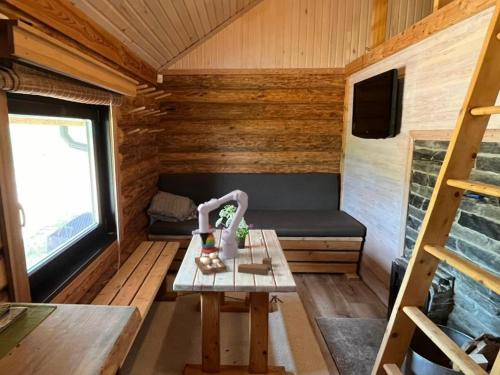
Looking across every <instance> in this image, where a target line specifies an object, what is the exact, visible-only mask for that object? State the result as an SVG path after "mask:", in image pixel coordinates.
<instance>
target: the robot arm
mask: <svg viewBox="0 0 500 375" xmlns="http://www.w3.org/2000/svg"><path fill="white" fill-rule="evenodd" d="M248 200H249V195H248V194H247V193H246V192H245V191H243V190H240V189H235V190H233V191H230V192H229V193H228V194H226V195H224V196H222V197H221V198H218V199H217V198H211V199H210V200H209V201H205V202H204V203H200V204H199V206H197V211H198V225H199V226H198V228H199V229H196V230H192V231H191V235H192V236H195V235H199V237H200V238H201V239H202V242H203V245H206V241H207V238H208V236H209V233H211V232H213V233H216V230H217V229H216V228H213V229H209V226H208V225H209V213H210V212H212V211H214V210H216V209H218V208H219V207H220V206H221V205H222V204H224V203H227V202H229V201H236V202H237V205H238V207H237V209H236V211H235V213H234V215H233V217H232V220H231V222H230V224H229V226H228V227H227V228H226V229H225V230H224V232H222V234H221V240H222V254H220V256H221V257H222V258H223V259H224V260H228V259H234V258H239V246H238V242H236V237H237V230H238V228H239V226H240V223H241V222H242V219H243V217H244V215H245V212H246V211H247V209H248V206H249V205H248V202H249V201H248Z"/></svg>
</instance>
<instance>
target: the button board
mask: <svg viewBox="0 0 500 375" xmlns="http://www.w3.org/2000/svg"><path fill="white" fill-rule="evenodd" d="M201 257H206V258H210V255H204V256H198V257H194V263H195V265H196V266H197V268H198V269H199V271H200V272H201V274H202V275H203V276H206V275H211V274H217V273H222V272H227V271H228V266H227V265H226V263H225V262H224V261H223V260H222V259H221V258H220V257H219V255H218V254H216V259H219V263H217V264H213V260H210V265H206V266H204V265H203V262H200V258H201Z"/></svg>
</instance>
